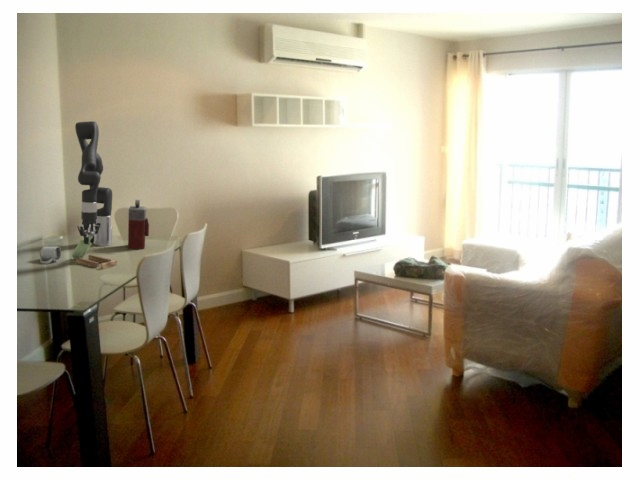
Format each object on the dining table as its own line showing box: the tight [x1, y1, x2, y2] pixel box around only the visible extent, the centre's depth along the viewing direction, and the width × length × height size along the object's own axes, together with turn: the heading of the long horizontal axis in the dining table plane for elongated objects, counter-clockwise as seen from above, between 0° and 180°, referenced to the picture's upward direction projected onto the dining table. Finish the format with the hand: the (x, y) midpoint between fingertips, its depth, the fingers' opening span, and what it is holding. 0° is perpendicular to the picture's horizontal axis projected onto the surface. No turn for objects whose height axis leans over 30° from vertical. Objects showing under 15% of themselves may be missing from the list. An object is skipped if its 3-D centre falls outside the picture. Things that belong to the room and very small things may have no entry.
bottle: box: [71, 230, 95, 261], centre depth 312 cm, size 6×6×18 cm
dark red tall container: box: [127, 199, 150, 250], centre depth 348 cm, size 9×11×28 cm
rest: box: [75, 254, 118, 270], centre depth 310 cm, size 10×18×2 cm, turn 65°
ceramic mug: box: [39, 246, 62, 265], centre depth 307 cm, size 11×8×8 cm
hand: (89, 243), depth 310 cm, fingers closed on bottle, 3 cm apart
